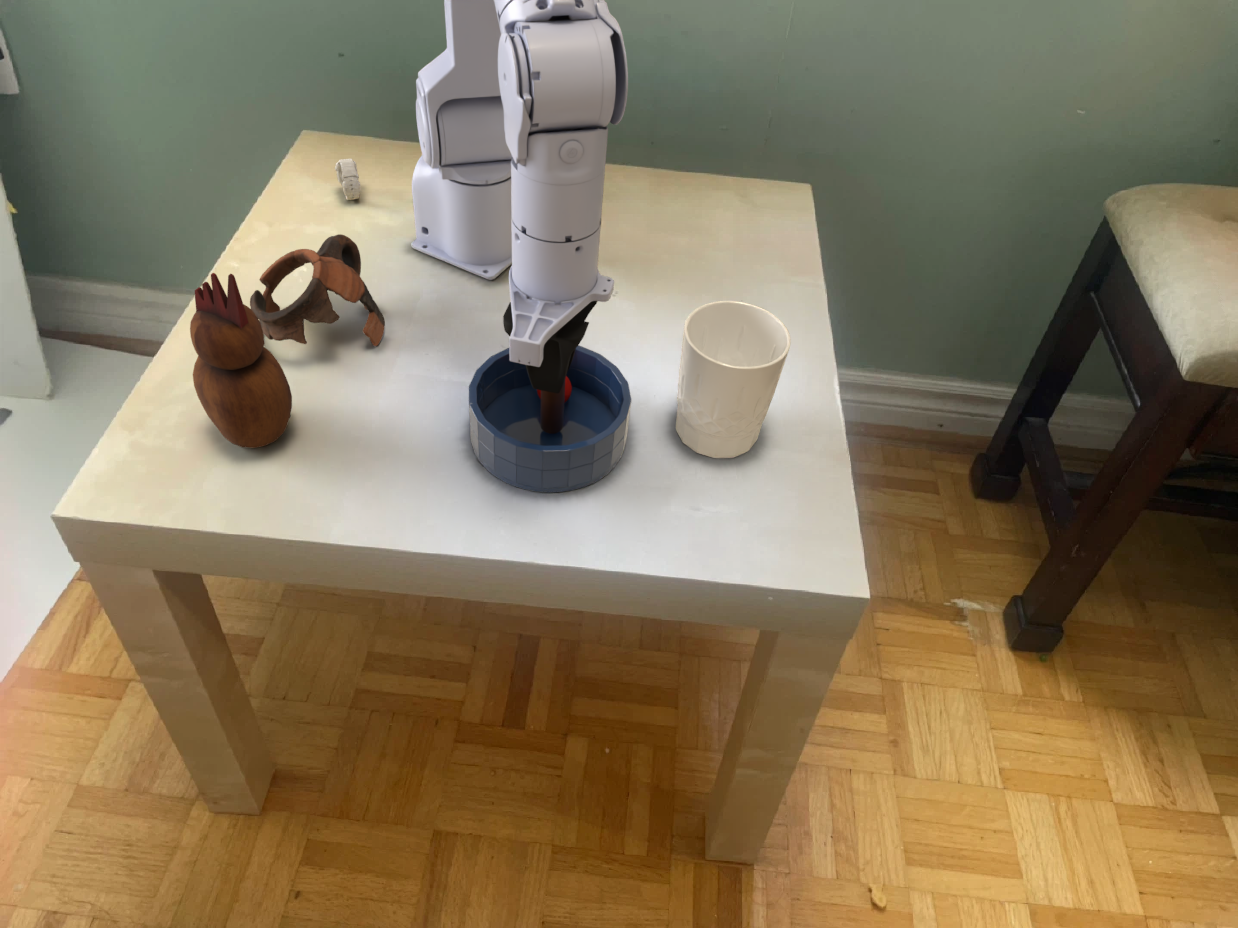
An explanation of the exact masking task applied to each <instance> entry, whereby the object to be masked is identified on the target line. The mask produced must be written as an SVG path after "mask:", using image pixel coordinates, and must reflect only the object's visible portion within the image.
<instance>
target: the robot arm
mask: <svg viewBox="0 0 1238 928" xmlns="http://www.w3.org/2000/svg"><path fill="white" fill-rule="evenodd" d="M443 4H444V6H443V7H444V21H445V34H446V35H445V36H446V48H445V50H444V51H443V52H441V53H440V54H439V55H437V56H436V57H435V58H434V59H433V60H431V61H430V62H429V63H428V64H426V65H424V67H422V68H421V69H420V70H419V71H418V72H417V78H416V80H415V87H416V100H415V117H416V125H417V126H416V127H417V135H418V141H419V145H420V146H419V147H420V151H421V152H420V153H421V156H420V157H419V159H418V160H417V162H416V164H415V167H414V170H413V172H412V173H413V174H412V178H411V195H412V204H413V206H412V207H413V216H414V226H415V227H414V228H415V237H416V238H415V239H413V241H411V245H410V246H411V248H412V249H414V250H416V251H419V252H421V253H423V254H425V255H427V256H430V257H433V258H435V259H438V260H440V261H442V262H445V263H447V264H450V265H452V266H455V267H457V268H459V269H461V270H464V271H467V272H469V273H471V274H474V275H476V276H479V277H481V278H484V279H486V280H489V281H492V280H495V279H496V278H497V277H498V276H499V275H501V274H502V273H503V272H504V271H506V269H508V268H509V267H510V268H509V271H508V289H509V290H508V291H509V298H510V299H509V301H510V302H509V303H508V306H506V309H505V311H504V313H503V316H502V323H503V330H504V332H505V333H506V334H507V335H508V336H509V337H508V338H509V339H508V340H509V341H508V342H509V344H508V345H509V347H508V348H509V350H510V361H511V362H516V363H520V364H525V365H526V369H527V372H528V375H529V378H530V381H531V384H532V387H533V388H534V389H537V390H542V391H547V392H552V393H557V394H558V393H559V392H560V390H561V388H562V386H563V383H564V380H565V378H566V374H567V372H568V370H569V368H570V365H571V362H572V360H573V357H574V354H575V350H576V347H577V346H578V345H579V346H580V344H581V342H582V340H583V339H584V337H585V335H586V332H587V330H588V328H589V324H590V322H589V321H586V320H587V318H588V316H589V315H590V313H591V312H592V310H593V309H594V308H595V306H597V303H598V302H600V303H606V302H609V301H610V300H611V298H612V295H613V292H614V288H615V279H613V278H612V277H610V276H606V275H603V274H601V273H600V271H599V255H600V244H601V243H600V241H601V227H602V213H603V203H604V201H603V199H604V190H605V189H604V188H605V175H606V174H605V173H606V165H607V161H606V160H607V152H608V151H607V149H608V140H609V139H608V138H609V127H608V125H609V124H611V125H615V126H616V125H617V126H618V125H619V124H620V123H621V121H622V120H623V118H624V115H625V112H626V108H627V102H628V93H629V92H628V91H629V69H628V67H629V66H628V58H627V52H626V51H627V50H626V46H625V41H624V36H623V32H622V29H621V26H620V24H619V22H618V20H617V19H616V18H615V16H613V15H612V14H611V12H610V10H609V7H608V3H607V2H606V0H443Z"/></svg>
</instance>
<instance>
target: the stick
mask: <svg viewBox="0 0 1238 928" xmlns="http://www.w3.org/2000/svg"><path fill="white" fill-rule="evenodd" d="M564 400H565V380H564V383H563V386H562V388H561V390H560V392H559V393H558V394H557V393H552V392H547V391H542V390H541V416H540V426H541V429H542V430H543V431H544V432H546V433H550V434H555V433H558V432H560V431H561V430H562V429H563V423H564Z"/></svg>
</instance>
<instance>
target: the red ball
mask: <svg viewBox="0 0 1238 928" xmlns="http://www.w3.org/2000/svg"><path fill="white" fill-rule="evenodd" d="M571 392H572V386H571V382H570V380H569V378H568V377H567V376H566V378H565V400H564V403H565V402H566V401H567V400H568V399H569V397H570V395H571ZM537 393H538V396H539V398H540V399H541V390H537Z"/></svg>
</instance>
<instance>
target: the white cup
mask: <svg viewBox="0 0 1238 928" xmlns="http://www.w3.org/2000/svg"><path fill="white" fill-rule="evenodd" d="M791 343H792V339H791V335H790V332H789V330H788V328H787V326H786V324H784V323H783V321H782V320H781V319H780V318H779V317H778V316H777V315H775V314H773V313H772V312H771V311H768V310H767V309H764V308H763V307H760V306H758V305H755V304H752V303H748V302H744V301H738V300H719V301H712V302H708V303H705V304H703V305H700V306H698V307H696V308H694V310H692V311H691V312H690V313H689V314H688V316H687V317H686V319H685V321H684V325H683V333H682V344H681V353H680V360H679V368H678V381H677V393H676V400H677V411H676V421H675V431H676V433H677V435H678V436H679V438H680V440H681V442H682V443H683V444H684V445H685V446H687V447H688V448H689V449H690V450H692V451H694V452H695V453H697V454H700V455H703V456H706V457H709V458H713V459H733V458H736V457H738V456H741V455H743V454H745V453H747V452H749V451H750V450H751V449H752V447H753V446H754V445H755V444H756V442H757V441H758V438H759V435H760V432H761V429H762V426H763V423H764V421H765V419H766V417H767V415H768V413H769V410H770V406H771V403H772V401H773V399H774V396H775V393H776V391H777V387H778V384H779V381H780V378H781V375H782V372H783V369H784V366H785V363H786V360H787V358H788V355H789V351H790V348H791Z"/></svg>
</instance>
